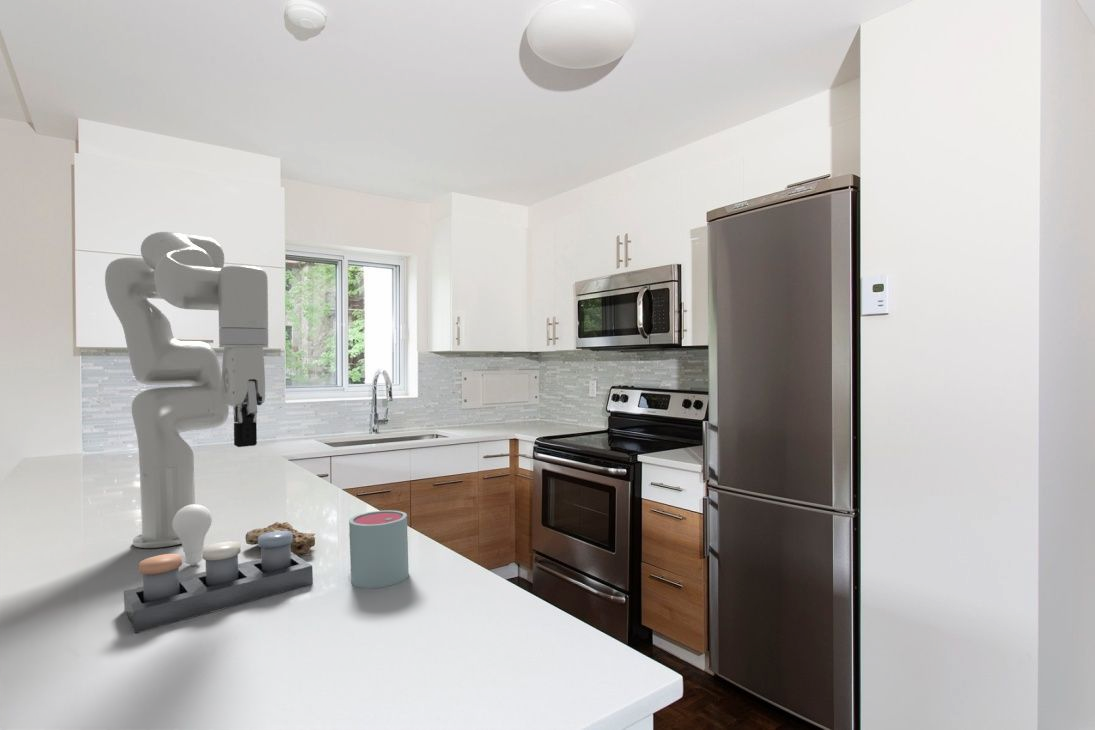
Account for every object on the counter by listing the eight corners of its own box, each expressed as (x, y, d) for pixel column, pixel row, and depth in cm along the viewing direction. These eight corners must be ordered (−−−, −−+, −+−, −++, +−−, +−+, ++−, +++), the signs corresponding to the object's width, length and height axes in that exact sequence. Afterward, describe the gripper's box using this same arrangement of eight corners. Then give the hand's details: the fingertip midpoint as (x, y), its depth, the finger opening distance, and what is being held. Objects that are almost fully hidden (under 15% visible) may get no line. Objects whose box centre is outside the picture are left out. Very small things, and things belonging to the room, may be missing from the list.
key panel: (124, 610, 88) (123, 590, 88) (291, 568, 104) (290, 551, 104) (134, 633, 80) (134, 611, 80) (312, 583, 96) (312, 565, 96)
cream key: (199, 586, 92) (198, 547, 92) (236, 577, 96) (235, 539, 95) (208, 596, 88) (206, 554, 88) (245, 586, 92) (244, 546, 92)
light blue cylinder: (254, 572, 97) (253, 535, 97) (287, 564, 101) (286, 528, 101) (264, 581, 94) (263, 542, 93) (298, 572, 97) (297, 535, 97)
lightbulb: (195, 572, 103) (192, 509, 103) (165, 570, 104) (163, 508, 104) (221, 560, 109) (219, 500, 109) (192, 558, 110) (190, 500, 110)
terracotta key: (138, 601, 87) (136, 559, 87) (179, 591, 90) (177, 551, 90) (143, 612, 83) (142, 568, 83) (186, 601, 86) (185, 559, 86)
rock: (341, 530, 117) (303, 533, 108) (337, 556, 116) (298, 562, 107) (280, 518, 124) (239, 520, 115) (275, 543, 123) (234, 547, 114)
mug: (419, 575, 99) (417, 516, 99) (369, 592, 92) (367, 529, 92) (375, 558, 108) (374, 503, 108) (327, 572, 101) (325, 514, 101)
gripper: (209, 339, 104) (211, 442, 105) (230, 339, 93) (232, 454, 94) (255, 339, 109) (257, 437, 110) (280, 339, 98) (281, 449, 99)
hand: (245, 445), depth 102 cm, fingers closed
